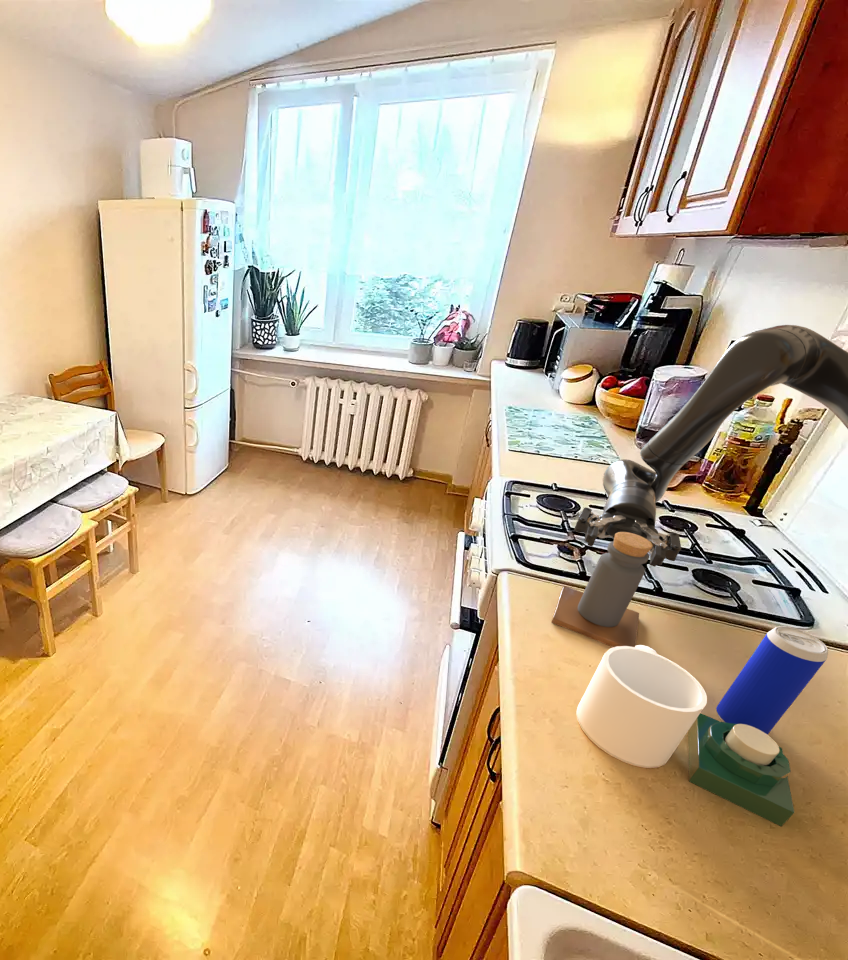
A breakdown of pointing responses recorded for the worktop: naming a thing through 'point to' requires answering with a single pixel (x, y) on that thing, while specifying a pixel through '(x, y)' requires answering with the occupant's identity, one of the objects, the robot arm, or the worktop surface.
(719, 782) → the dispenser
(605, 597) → the bottle
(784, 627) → the beverage can
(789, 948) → the worktop surface
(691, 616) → the worktop surface
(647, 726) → the mug
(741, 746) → the cream disc
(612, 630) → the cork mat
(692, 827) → the worktop surface
